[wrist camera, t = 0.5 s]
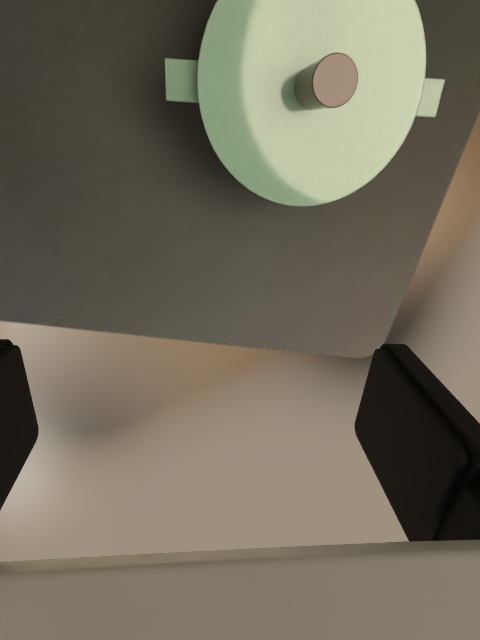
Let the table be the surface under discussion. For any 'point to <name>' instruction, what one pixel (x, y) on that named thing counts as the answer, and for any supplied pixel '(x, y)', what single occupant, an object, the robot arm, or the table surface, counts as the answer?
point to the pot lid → (310, 92)
